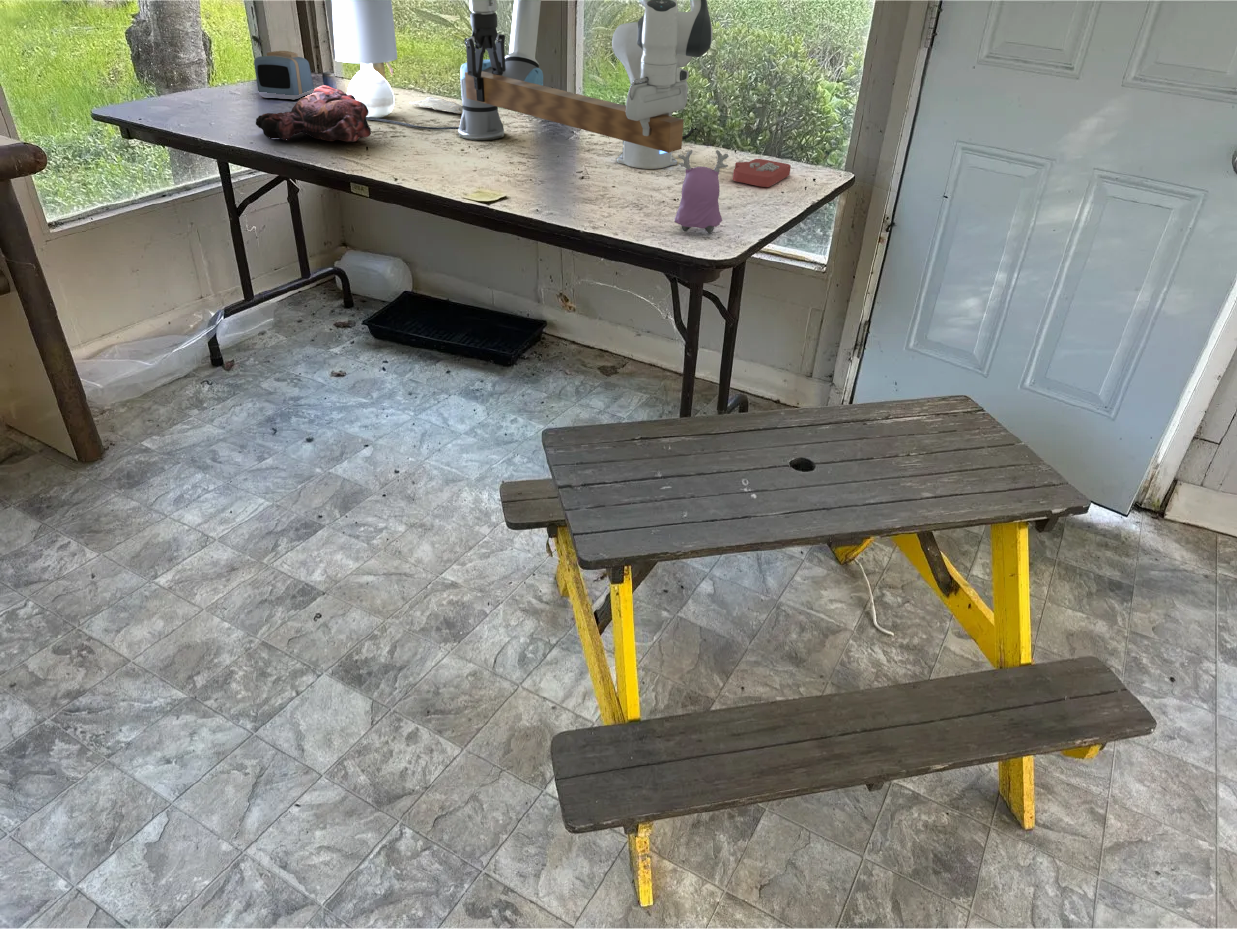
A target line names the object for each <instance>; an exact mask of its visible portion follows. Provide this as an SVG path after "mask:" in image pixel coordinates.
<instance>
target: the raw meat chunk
mask: <svg viewBox="0 0 1237 929" xmlns="http://www.w3.org/2000/svg"><path fill="white" fill-rule="evenodd" d="M368 114H369V110H368V109H367V107H366V105H365V104H364V103H362V102H360V101H358V100H356V99H355V97H354V96H353V95H352V94H349V95H348V94H347V93H345V92H344V91H343V90H341V89H338V88H337V89H334V88H331V87H329V86H326V85H323V84H322V85H320V86H318V87H316V88H314V91H313V93H312V94H310V95H307V96H305V97H302V98H300V99H298V100H297V102H296V103H295V104H294V105H293V107H292V108H291V111H286V112H277V113H273V112H267V113H262V114H260V115H258V117H257V118H256V119H255V125H256V126H257V127H258V128H259V129H260V130H262V133H263V135H264V136H266V137H267V138H269V137H270V138H269V139H271V138H280V139H279V140H283V141H286V142H288V141H290V140H291V139H292V137H294V136H295V135H299V134H301V133H302V134H304V135H307V136H309V137H312V138H314V139H316V140H323V141H326V142H335V141H341V142H346V143H348V142H352V143H353V142H357V141H358V140H359V139H364V138H369V137H370V136H371V135H372V129H371V126H370V125H369V122H368V120H367V119H366V116H368ZM286 139H287V140H286ZM271 140H275V139H271Z"/></svg>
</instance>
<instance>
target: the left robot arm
mask: <svg viewBox="0 0 1237 929" xmlns="http://www.w3.org/2000/svg"><path fill="white" fill-rule="evenodd" d="M541 4H542V0H513V7H512V17H511V29H510V37H509V38H510V39H509V48H508V54H507V55H506V53H505V42H506V35H505V34H501V33H498V31H497V28H498V14H497V12H496V11H497V7H498V6H497V0H469V11H470V12H471V13H470V14H469V15H470V16H469V17H470V26H471V29H472V32H471V35H470V36H469V37H465V38H464V39H463V41H464V45H465V50H466V51H465V52H466V62H464V63H463V64H461V66H460V69H459V73H460V78H459V80H460V91H461V106H463V113H462V114H461V118H460V121H459V126H441V127H439V126H423V125H417V124H411V123H406V122H402V121H396V120H393V119H385V118H370V117H366V119H367V121H378V122H384V123H390V124H395V125H401V126H406V127H410V128H415V129H420V130H421V129H422V130H435V131H447V130H448V131H449V130H458V136H459V137H460V138H462V139H465V140H471V141H491V140H492V141H493V140H499V139H501V138H503V137H504V136H505V128H504V123H503V122H502V119H501V117H500V114H499V107H497V106H493V105H490V104H486V103H482V102H485V98H484V81H483V78H481V72H482V71H483V72H488V73H492V74H496V75H500V76H504V77H509V78H513V79H517V80H521V81H525V82H529V83H534V84H538V85H542V86H544V73H543V72H544V71H543V70H542V69H541V68H540V64H539V62H538V60H537V59H536V51H537V45H538V44H537V42H538V34H539V33H538V32H539V23H540V14H541ZM486 51H487V54H488V59H487V58H486V59H484V56H485V53H486ZM465 72H467V73H468V75H470V76H472V77H473V78H474V88H475V89H476V95H477V101H475V100H471V99H467V96H466V82H465ZM479 101H481V102H479Z"/></svg>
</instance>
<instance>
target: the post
mask: <svg viewBox="0 0 1237 929" xmlns="http://www.w3.org/2000/svg"><path fill="white" fill-rule="evenodd" d="M481 78H483V81H484V98H485V102H482V103H486V104H490V105H493V106H497V107H498V108H502V109H505V110H509V111H513V112H517V113H519V114H524V115H528V116H530V117H535V118H538V119H541V120H546V121H549V122H553V123H557V124H561V125H564V126H567V127H571V128H576V129H579V130H582V131H587V132H590V133H594V134H597V135H601V136H605V137H609V138H611V139H617V140H620V141H622V142H623V141H627V142H631V143H634V144H638V145H642V146H645V147H649V148H653V149H657V150H660V151H664V152H668V153H670V152H672V153H673V152H677V151H680V150H682V149H683V139H682V136H684V135H683V133H684V119H683V118H679V117H676V116H672V117H671V116H667V115H663V114H662V115H658V116H655V117H651V118H650V122H648V124H649V127H650V128H652V131H651V135H649V136H644V135H643V128H642V125H641V123H640V120H639V121H634V120H630V119H628V118H627V116H626V104H622V103H616V102H612V101H607V100H604V99H600V98H596V97H591V96H587V95H584V94H580V93H576V92H571V91H567V90H562V89H559V88H554V87H550V86H546V85H543V86H542V85H538V84H534V83H529V82H525V81H521V80H517V79H513V78H509V77H504V76H500V75H496V74H492V73H488V72H483V71H482V72H481ZM465 82H466V96H467V99H471V100H475V101H477V95H476V89H475V88H474V78H473V77H472V76H470V75H468V73H467V72H465ZM479 102H481V101H479Z"/></svg>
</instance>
